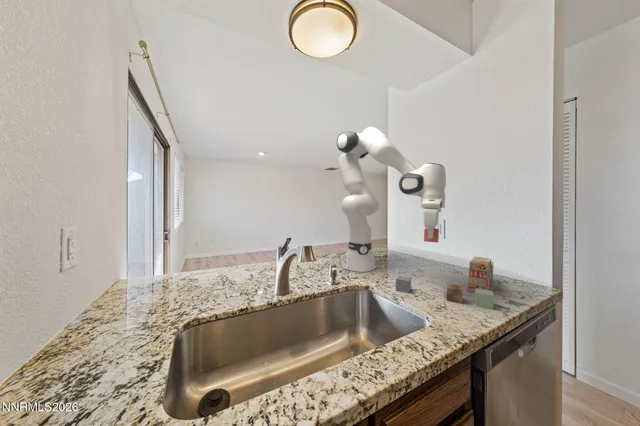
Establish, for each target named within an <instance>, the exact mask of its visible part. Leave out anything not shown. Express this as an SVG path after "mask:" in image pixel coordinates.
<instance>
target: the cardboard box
mask: <svg viewBox="0 0 640 426" xmlns="http://www.w3.org/2000/svg"><path fill="white" fill-rule="evenodd" d="M468 268H469V269H468V284H467V285H468V288H467V290H468V291H469V292H474V293H475V288H478V289H484V290H490V287H491V285H492V284H493V282H494V281H493V280H494V279H493V278H494V261H492V258H488V257H481V256H474V257H473V258H472V259H471V260H470V261H469V267H468Z"/></svg>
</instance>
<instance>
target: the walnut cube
mask: <svg viewBox="0 0 640 426" xmlns="http://www.w3.org/2000/svg"><path fill="white" fill-rule="evenodd" d="M463 289H464V287H463V285H459V284H451V283H446V298H445V300H446V302H451V303H456V304H461V305H463V298H464V297H463V295H464V294H463V293H464V290H463Z"/></svg>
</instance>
